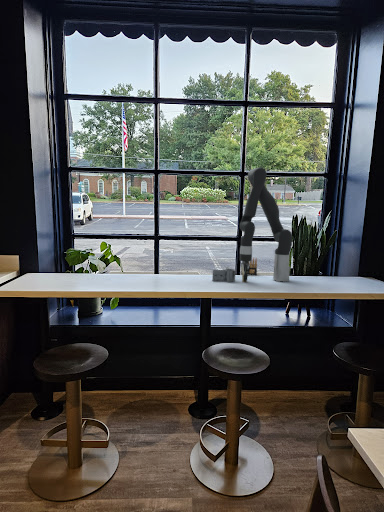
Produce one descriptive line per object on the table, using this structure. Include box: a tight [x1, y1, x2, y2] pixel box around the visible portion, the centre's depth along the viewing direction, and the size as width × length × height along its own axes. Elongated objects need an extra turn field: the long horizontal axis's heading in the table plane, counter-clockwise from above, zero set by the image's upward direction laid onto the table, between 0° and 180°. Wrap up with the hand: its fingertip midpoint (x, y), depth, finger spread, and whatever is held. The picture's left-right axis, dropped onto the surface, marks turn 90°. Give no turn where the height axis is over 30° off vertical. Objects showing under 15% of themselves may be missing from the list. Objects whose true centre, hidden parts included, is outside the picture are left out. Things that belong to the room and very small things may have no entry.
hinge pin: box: [241, 269, 248, 283], centre depth 219 cm, size 3×3×9 cm
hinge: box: [212, 266, 236, 283], centre depth 224 cm, size 14×14×7 cm
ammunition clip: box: [240, 257, 258, 276], centre depth 241 cm, size 11×2×12 cm, turn 89°
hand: (244, 280), depth 219 cm, fingers closed on hinge pin, 3 cm apart
